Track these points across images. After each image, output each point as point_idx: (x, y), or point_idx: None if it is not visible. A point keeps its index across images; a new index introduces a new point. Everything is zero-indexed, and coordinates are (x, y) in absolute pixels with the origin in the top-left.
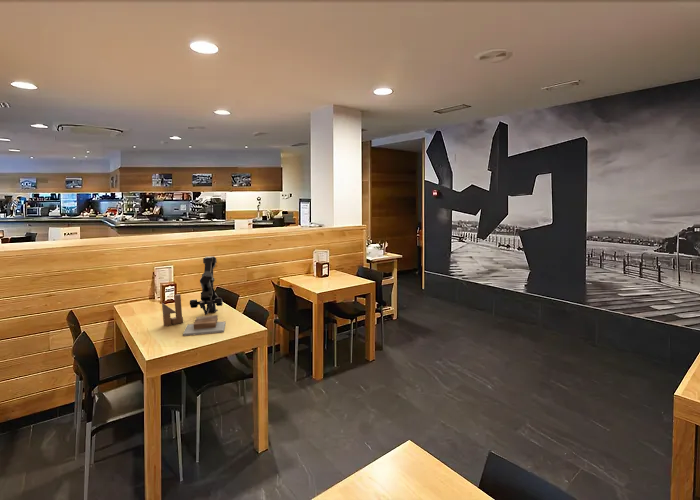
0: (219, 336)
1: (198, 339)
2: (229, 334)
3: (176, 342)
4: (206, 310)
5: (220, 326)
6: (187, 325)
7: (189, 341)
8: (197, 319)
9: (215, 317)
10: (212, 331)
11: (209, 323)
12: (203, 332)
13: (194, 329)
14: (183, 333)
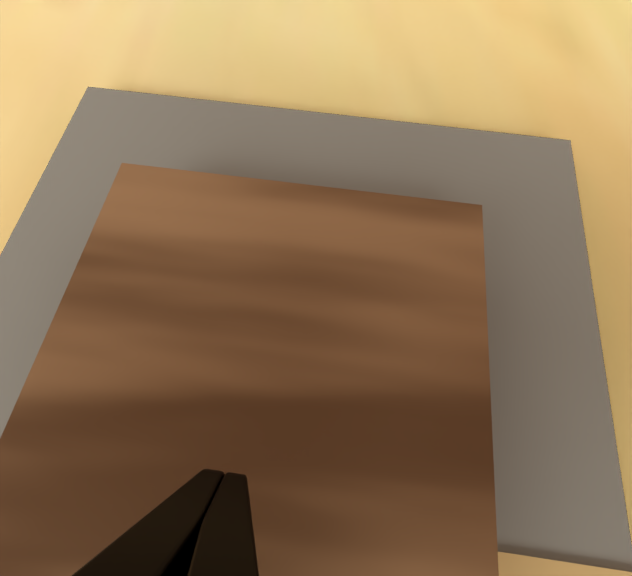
0: (173, 26)
1: (372, 25)
2: (68, 37)
3: (570, 28)
4: (151, 557)
5: (75, 227)
6: (619, 522)
7: (451, 12)
8: (449, 490)
9: (14, 473)
10: (218, 103)
11: (219, 179)
12: (323, 117)
13: None
14: (565, 148)
